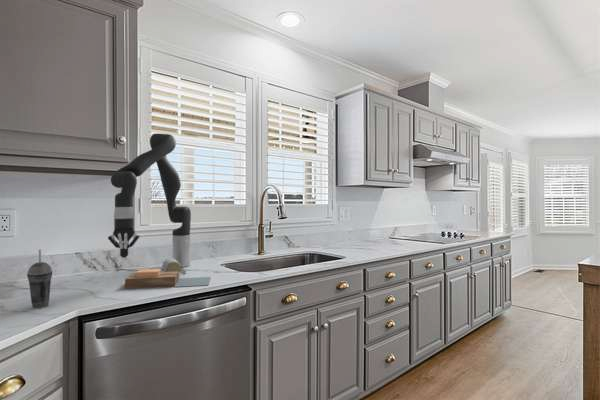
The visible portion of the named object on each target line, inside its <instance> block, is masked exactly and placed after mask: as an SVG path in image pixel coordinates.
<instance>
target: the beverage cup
mask: <svg viewBox="0 0 600 400" xmlns="http://www.w3.org/2000/svg"><path fill="white" fill-rule="evenodd" d="M41 254H42V250H41V249H38V262H35V263H34V264H32V265H31V266H30V267H29V268H28V270H27V275H26V276H27V280H28V285H29V292H30V293H29V294H30V302H31V306H32V307H33V308H38V309H43V308H42V307H44V308H47V307H49V304H50V303H49V302H50V294H51V284H52V283H51V282H52V277H53V269H52V267H51V265H50V264H48V263H47V262H44V261H43V262H42V255H41ZM46 306H47V307H46ZM32 307H31V308H32ZM33 308H32V309H33Z"/></svg>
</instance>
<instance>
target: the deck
mask: <svg viewBox="0 0 600 400" xmlns="http://www.w3.org/2000/svg"><path fill="white" fill-rule="evenodd" d="M179 279H180V272H179V271H171V272H164V271H161V274H160V275H159V276H151V277H136V272H132V274H130V275H129V276H127V277H126V278H125V279H124V289H125V290H127V289H144V288H145V289H146V288H165V287H166V288H167V287H174V286H175V285H176V283H177V282H178V280H179Z"/></svg>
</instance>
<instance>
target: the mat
mask: <svg viewBox="0 0 600 400" xmlns="http://www.w3.org/2000/svg"><path fill="white" fill-rule="evenodd" d="M210 282H211V276H199V277H182V278H181V277H179V280H178V282H177V283H176V285H175V286H173V287H174V288H186V287H187V288H189V287H204V286H205V287H207V286H209V284H210Z"/></svg>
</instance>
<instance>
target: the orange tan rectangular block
mask: <svg viewBox="0 0 600 400" xmlns="http://www.w3.org/2000/svg"><path fill="white" fill-rule="evenodd" d="M161 272H162V269H161V268H153V269H152V268H151V269H149V268H148V269H138V270H137V271H136V272H135V273H136V277H151V276H159V275H160V274H161Z"/></svg>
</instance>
